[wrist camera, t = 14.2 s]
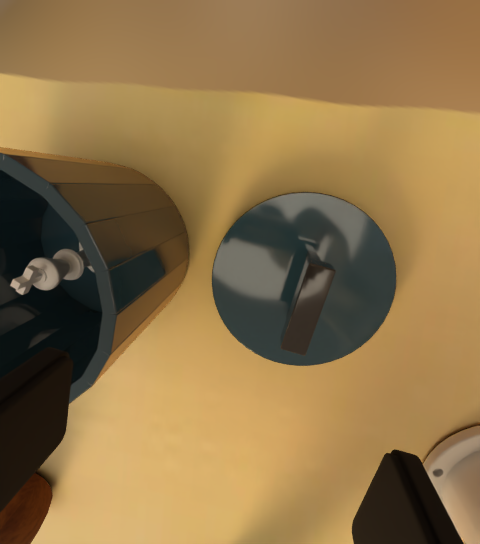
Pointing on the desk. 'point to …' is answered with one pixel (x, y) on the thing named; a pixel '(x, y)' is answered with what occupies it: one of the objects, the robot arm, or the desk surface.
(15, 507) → the wooden figurine
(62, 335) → the pot
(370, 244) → the lid
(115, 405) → the desk surface
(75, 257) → the chess piece
